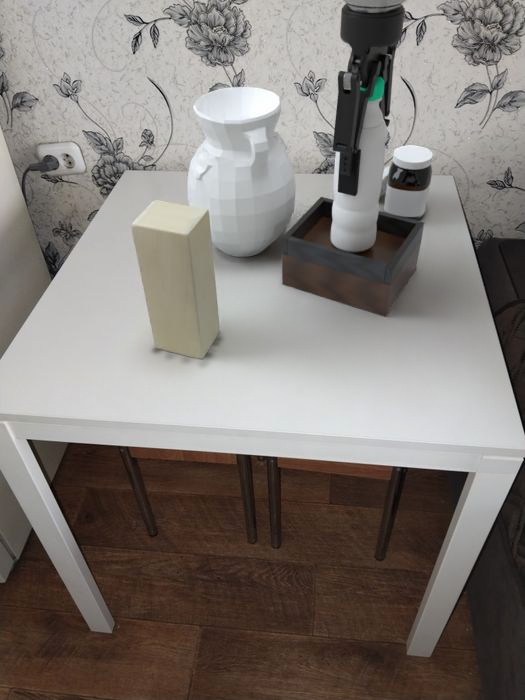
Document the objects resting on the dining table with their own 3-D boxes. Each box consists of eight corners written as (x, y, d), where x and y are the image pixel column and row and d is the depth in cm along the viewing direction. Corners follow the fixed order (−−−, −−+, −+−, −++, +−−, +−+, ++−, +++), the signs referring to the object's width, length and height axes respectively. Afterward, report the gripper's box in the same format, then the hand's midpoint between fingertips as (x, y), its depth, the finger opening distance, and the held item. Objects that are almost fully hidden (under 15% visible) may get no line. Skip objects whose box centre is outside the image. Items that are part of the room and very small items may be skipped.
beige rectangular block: (223, 328, 90) (211, 205, 75) (204, 360, 85) (186, 235, 70) (176, 317, 92) (155, 196, 77) (154, 348, 87) (127, 225, 72)
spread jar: (421, 228, 108) (432, 169, 100) (360, 220, 110) (365, 161, 102) (429, 196, 116) (439, 139, 108) (371, 189, 119) (377, 132, 110)
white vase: (314, 253, 103) (319, 110, 86) (217, 283, 98) (201, 137, 80) (268, 205, 115) (264, 71, 98) (179, 229, 110) (158, 92, 93)
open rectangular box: (416, 268, 99) (424, 222, 93) (385, 317, 90) (392, 269, 84) (319, 241, 106) (321, 196, 99) (282, 284, 97) (281, 237, 91)
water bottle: (323, 234, 95) (330, 72, 78) (363, 226, 96) (379, 65, 79) (340, 258, 90) (352, 91, 73) (382, 249, 92) (404, 82, 74)
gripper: (375, -18, 78) (360, 148, 94) (307, 23, 65) (304, 206, 81) (430, -13, 75) (406, 158, 91) (371, 31, 63) (354, 219, 78)
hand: (358, 180), depth 86 cm, fingers closed on water bottle, 7 cm apart
